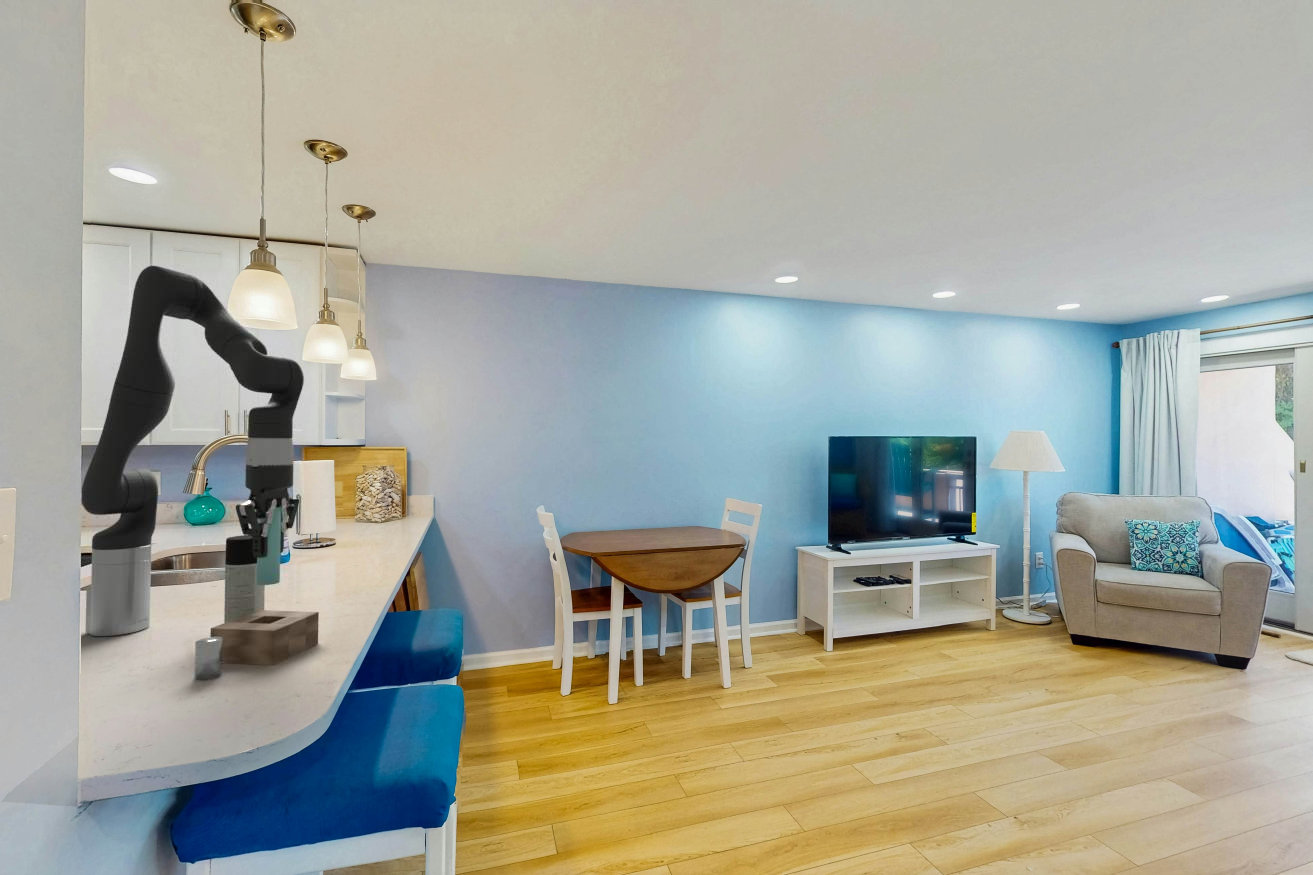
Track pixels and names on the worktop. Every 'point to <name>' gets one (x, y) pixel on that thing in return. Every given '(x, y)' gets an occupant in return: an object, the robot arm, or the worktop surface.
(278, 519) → the long pin
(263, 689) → the worktop surface
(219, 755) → the worktop surface
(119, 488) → the robot arm
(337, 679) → the worktop surface
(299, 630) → the socket block
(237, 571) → the spray can
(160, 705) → the worktop surface
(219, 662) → the short pin
